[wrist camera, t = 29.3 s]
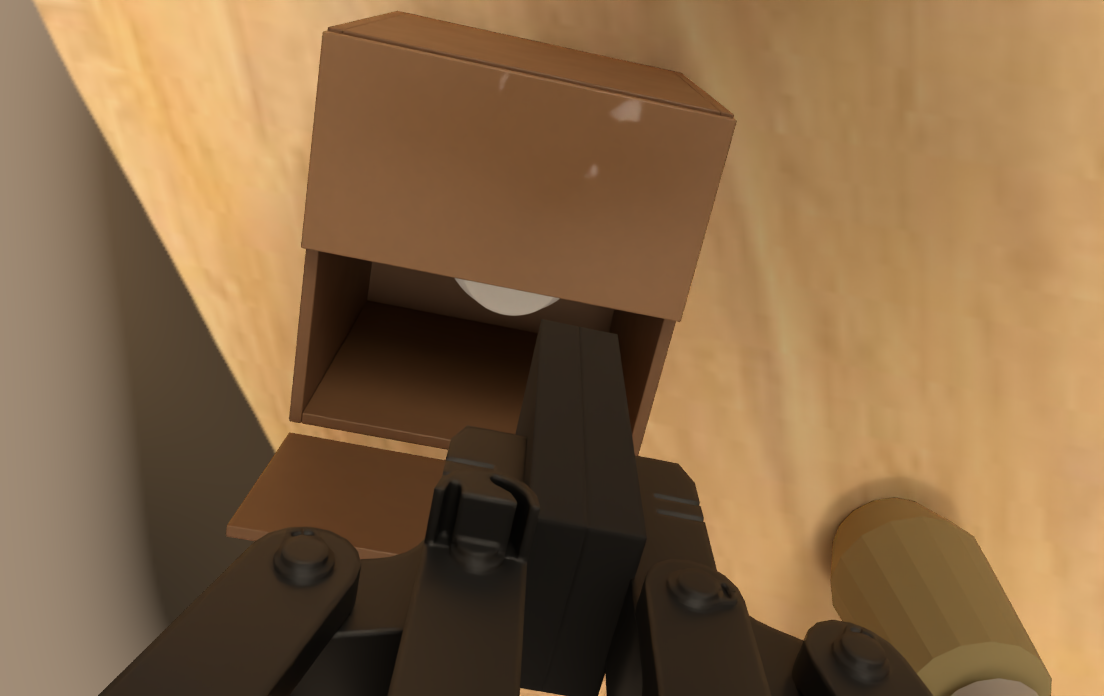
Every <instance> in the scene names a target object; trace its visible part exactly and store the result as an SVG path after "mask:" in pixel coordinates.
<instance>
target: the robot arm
mask: <svg viewBox="0 0 1104 696" xmlns="http://www.w3.org/2000/svg"><path fill="white" fill-rule="evenodd" d="M699 504H700V502H699V498H698V494H697V490H696V486H695V483H694V482H693V480H692V479H691V478H690V477H689V476H688V475H687V473H686V472H685V471H684V470H683V469H682V467H681V466H680V465H679V464H677V463H672V462H667V461H662V460H656V459H651V458H646V457H641V456H636V455H635V452H634V445H633V438H632V431H631V424H630V418H629V411H628V404H627V397H626V390H625V383H624V376H623V369H622V362H621V355H620V348H619V342H618V335H617V334H613V333H609V332H604V331H599V330H594V329H589V328H584V327H579V326H574V325H569V324H565V323H560V322H555V321H550V320H545V319H541V323H540V327H539V331H538V336H537V340H536V345H535V349H534V354H533V358H532V362H531V367H530V371H529V376H528V380H527V385H526V389H525V393H524V398H523V402H522V407H521V411H520V416H519V420H518V424H517V429H516V433H515V434H511V433H506V432H501V431H495V430H490V429H485V428H480V427H475V426H470V425H467V426H466V427H464V428H463V429H462V430H461V431H460V432H458V433H457V434H456V435H455V436H453V437H452V438H451V441H450V445H449V449H448V453H447V457H446V461H445V465H444V470H443V474H442V478H441V479H440V480H439V482H438V483H437V485H436V486H435V488H434V493H433V498H432V503H431V508H430V514H429V519H428V524H427V530H426V535H425V538H424V539H423V540H422V541H421V543H420V544H419V545H418V546H416V547H414V548H412V549H411V550H409V551H407V552H405V553H401V554H398V555H395V556H391V557H383V558H374V559H360V557H359V553H358V551H357V549H356V548H355V547H354V546H353V545H352V544H351V543H350V542H349V541H348V539H346V538H344V537H342V536H340V535H338V534H336V533H334V532H332V531H329V530H325V529H320V528H315V527H310V526H309V527H287V528H284V529H280V530H276V531H273V532H269V533H267V534H266V535H264V536H263V537H261V538H260V539H258V540H257V541H255V542H254V543H253V544H252V545H251V546H250V547H249V548H247V550H245V551H244V552H243V553H242V554H241V555H240V556H239V557H238V558H237V559H236V560H235V561H234V562H233V563H232V564H231V565H230V566H229V567H228V568H227V569H226V570H225V571H224V572H223V573H222V574H221V575H220V576H219V577H218V578H217V579H216V580H215V581H214V582H213V583H212V584H211V585H210V586H209V587H208V588H207V589H206V590H205V591H204V592H203V593H202V594H201V595H200V596H199V597H198V598H197V599H196V600H195V601H194V602H193V603H192V604H191V605H190V606H189V607H188V608H187V609H186V610H185V611H183V613H182V614H180V615H179V617H177V618H176V619H175V620H174V621H173V622H172V623H171V624H170V625H169V626H168V627H167V628H166V629H165V630H164V631H163V632H162V633H161V634H160V635H159V636H158V637H157V638H156V639H155V640H154V641H153V642H152V643H151V644H150V645H149V646H148V647H147V648H146V649H145V650H144V651H143V652H142V653H141V654H140V655H139V656H138V657H137V658H136V659H135V660H134V661H133V662H132V663H131V664H130V665H129V666H128V667H127V668H126V669H125V670H124V671H123V672H122V673H120V674H119V676H117V678H115V679H114V680H113V681H112V682H111V683H110V684H109V685H108V686H107V687H106V688H105V689H104V690H103V691H102V692H101V693H100V694H99V695H98V696H519V695H520V688H524V689H530V690H536V691H541V692H547V693H553V694H559V695H565V696H598V694H599V691H600V688H601V685H602V681H603V678H604V675H605V674H606V691H607V696H933V694H932V693H931V692H930V690H929V689H928V688H927V686H926V685H925V684H924V682H923V681H922V680H921V679H920V677H919V676H918V675H917V673H916V672H915V671H914V669H913V668H912V667H911V665H910V664H909V663H908V662H907V660H906V659H905V658H904V657H903V656H902V655H901V654H900V653H899V652H898V651H897V650H896V649H895V648H894V647H893V646H892V645H891V644H890V643H889V642H888V641H886V640H885V639H883V638H882V637H880V636H879V635H877V634H875V633H874V632H872V631H871V630H868V629H866V628H864V627H861V626H858V625H856V624H853V623H850V622H843V621H837V620H828V621H822V622H817V623H816V624H815V625H814V626H813V627H811V628H810V629H809V630H808V632H807V634H806V636H805V639H804V641H803V640H801V639H798V638H796V637H793V636H791V635H788V634H786V633H784V632H781V631H779V630H776V629H774V628H771V627H769V626H767V625H765V624H763V623H761V622H759V621H757V620H755V619H754V618H752V617H751V616H749V614H748V611H747V607H746V604H745V601H744V599H743V597H742V595H741V593H740V591H739V589H738V588H737V587H736V586H735V585H734V584H733V583H732V582H731V581H730V580H729V579H728V578H727V577H726V576H724V575H723V574H721V573H719V572H717V569H716V565H715V561H714V557H713V553H712V549H711V545H710V541H709V537H708V533H707V529H706V525H705V522H703V519H704V517H703V513H702V510H701V506H699Z"/></svg>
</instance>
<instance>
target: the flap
mask: <svg viewBox="0 0 1104 696" xmlns="http://www.w3.org/2000/svg"><path fill="white" fill-rule="evenodd" d="M736 122H737V121H736V120H735V119H734V118H729V117H725V116H720V115H715V114H711V113H706V112H702V111H697V110H692V109H688V108H683V107H678V106H674V105H669V104H664V103H660V102H655V101H650V100H646V99H641V98H636V97H632V96H627V95H623V94H618V93H613V92H609V91H604V90H599V89H595V88H590V87H585V86H581V85H576V84H571V83H567V82H562V81H557V80H553V79H548V78H544V77H539V76H534V75H530V74H525V73H520V72H516V71H511V70H506V69H502V68H497V67H492V66H488V65H483V64H478V63H474V62H469V61H465V60H460V59H455V58H451V57H446V56H441V55H437V54H432V53H427V52H423V51H418V50H413V49H409V48H404V47H399V46H395V45H390V44H386V43H381V42H376V41H372V40H367V39H362V38H358V37H353V36H348V35H344V34H339V33H334V32H330V31H324V32H323V36H322V46H321V55H320V65H319V75H318V85H317V95H316V105H315V115H314V125H313V135H312V144H311V154H310V164H309V174H308V184H307V194H306V204H305V214H304V224H303V234H302V243H301V247H302V248H305V249H310V250H315V251H320V252H326V253H331V254H336V255H341V256H346V257H351V258H356V259H361V260H366V261H371V262H377V263H382V264H387V265H392V266H397V267H402V268H407V269H412V270H417V271H422V272H428V273H433V274H438V275H443V276H448V277H453V278H458V279H463V280H468V281H473V282H479V283H484V284H489V285H494V286H499V287H504V288H509V289H514V290H519V291H524V292H530V293H535V294H540V295H545V296H550V297H555V298H560V299H565V300H570V301H576V302H581V303H586V304H591V305H596V306H601V307H606V308H611V309H616V310H621V311H627V312H632V313H637V314H642V315H647V316H652V317H657V318H662V319H667V320H672V321H678V322H680V321H681V319H682V315H683V311H684V308H685V304H686V301H687V297H688V294H689V290H690V286H691V283H692V279H693V276H694V272H695V268H696V265H697V261H698V258H699V254H700V251H701V247H702V243H703V240H704V236H705V233H706V229H707V226H708V222H709V218H710V215H711V211H712V208H713V204H714V201H715V197H716V193H717V190H718V186H719V183H720V179H721V175H722V172H723V168H724V165H725V161H726V158H727V154H728V150H729V147H730V143H731V140H732V136H733V133H734V129H735V125H736Z"/></svg>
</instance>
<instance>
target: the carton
mask: <svg viewBox="0 0 1104 696" xmlns="http://www.w3.org/2000/svg"><path fill="white" fill-rule="evenodd" d="M328 31H330V32H334V33H339V34H344V35H348V36H353V37H358V38H362V39H367V40H372V41H376V42H381V43H386V44H390V45H395V46H399V47H404V48H409V49H413V50H418V51H423V52H427V53H432V54H437V55H441V56H446V57H451V58H455V59H460V60H465V61H469V62H474V63H478V64H483V65H488V66H492V67H497V68H502V69H506V70H511V71H516V72H520V73H525V74H530V75H534V76H539V77H544V78H548V79H553V80H557V81H562V82H567V83H571V84H576V85H581V86H585V87H590V88H595V89H599V90H604V91H609V92H613V93H618V94H623V95H627V96H632V97H636V98H641V99H646V100H650V101H655V102H660V103H664V104H669V105H674V106H678V107H683V108H688V109H692V110H697V111H702V112H706V113H711V114H715V115H720V116H725V117H729V118H733V117H734V114H732V113H731V112H730V111H729V110H727V109H726V108H725V107H724V106H722V105H721V104H720V103H719V102H717V101H716V100H715V99H713V98H712V97H711V96H710V95H708V94H707V93H706V92H705V91H703V90H702V89H701V88H700V87H698V86H697V85H696V84H695V83H693V82H692V81H691V80H690V79H688V78H687V77H686V76H685V75H683V74H682V73H679V72H674V71H670V70H665V69H661V68H656V67H651V66H647V65H642V64H638V63H633V62H629V61H624V60H619V59H615V58H610V57H606V56H601V55H596V54H592V53H587V52H583V51H578V50H574V49H569V48H564V47H560V46H555V45H551V44H546V43H541V42H537V41H532V40H528V39H523V38H519V37H514V36H509V35H505V34H500V33H496V32H491V31H486V30H482V29H477V28H473V27H468V26H464V25H459V24H454V23H450V22H445V21H441V20H436V19H432V18H427V17H422V16H418V15H413V14H409V13H404V12H399V11H395V12H391V13H387V14H383V15H378V16H374V17H370V18H366V19H361V20H357V21H353V22H349V23H344V24H340V25H336V26H332V27H328ZM541 319H545V320H550V321H555V322H560V323H565V324H569V325H574V326H579V327H584V328H589V329H594V330H599V331H604V332H609V333H613V334H617V335H618V342H619V348H620V355H621V362H622V369H623V376H624V383H625V390H626V397H627V404H628V411H629V418H630V424H631V431H632V438H633V445H634V452H635V455H636V456H638V454H639V451H640V447H641V444H642V440H643V436H644V433H645V429H646V426H647V422H648V419H649V415H650V412H651V408H652V404H653V401H654V397H655V394H656V390H657V387H658V383H659V380H660V376H661V373H662V369H663V365H664V362H665V358H666V355H667V351H668V348H669V344H670V341H671V337H672V334H673V330H674V326H675V323H676V321H672V320H667V319H662V318H657V317H652V316H647V315H642V314H637V313H632V312H627V311H621V310H616V309H611V308H606V307H601V306H596V305H591V304H586V303H581V302H576V301H570V300H565V299H559V300H557V301H556V302H554V303H553V304H551V305H549V306H547V307H545V308H542V309H540V310H538V311H535V312H533V313H530V314H525V315H518V316H512V315H503V314H499V313H496V312H493V311H491V310H489V309H487V308H485V307H484V306H482V305H481V304H480V303H478V302H477V301H476V300H475V299H473V298H472V297H471V296H469V295H468V294H467V293H466V292H465V291H464V290H463V289H462V288H461V286H460V285H459V284H458V283H457V281H456V280H455V278H453V277H448V276H443V275H438V274H433V273H428V272H422V271H417V270H412V269H407V268H402V267H397V266H392V265H387V264H382V263H377V262H371V261H366V260H361V259H356V258H351V257H346V256H341V255H336V254H331V253H326V252H320V251H315V250H310V249H306V255H305V265H304V275H303V285H302V295H301V305H300V315H299V326H298V336H297V346H296V356H295V366H294V376H293V386H292V396H291V406H290V417H289V421H292V422H298V423H301V422H302V423H303V424H309V425H315V426H320V427H326V428H331V429H337V430H342V431H348V432H353V433H359V434H364V435H370V436H375V437H381V438H386V439H392V440H397V441H403V442H408V443H414V444H420V445H425V446H431V447H436V448H442V449H447V450H448V449H449V445H450V441H451V438H452V437H453V436H455V435H456V434H457V433H458V432H460V431H461V430H462V429H463V428H464V427H466V426H467V425H470V426H475V427H480V428H485V429H490V430H495V431H501V432H506V433H511V434H515V433H516V429H517V424H518V420H519V416H520V411H521V407H522V402H523V398H524V393H525V389H526V385H527V380H528V376H529V371H530V367H531V362H532V358H533V354H534V349H535V345H536V340H537V336H538V331H539V327H540V323H541ZM444 465H445V460H440V459H434V458H428V457H423V456H417V455H412V454H406V453H401V452H395V451H390V450H384V449H378V448H373V447H367V446H362V445H356V444H351V443H345V442H340V441H334V440H328V439H323V438H317V437H312V436H306V435H301V434H295V433H289V434H288V435H287V437H286V438H285V440H284V441H283V443H282V444H281V446H280V447H279V449H278V450H277V452H276V453H275V455H274V456H273V458H272V459H271V461H270V462H269V464H268V465H267V467H266V468H265V470H264V471H263V472H262V474H261V476H260V477H259V478H258V480H257V481H256V483H255V484H254V486H253V487H252V489H251V490H250V492H249V493H248V495H247V496H246V498H245V499H244V501H243V502H242V504H241V505H240V507H239V508H238V510H237V511H236V513H235V514H234V516H233V517H232V519H231V520H230V522H229V523H228V525H227V528H226V536H227V537H233V538H239V539H245V540H250V541H257V540H258V539H260V538H261V537H263V536H264V535H266V534H267V533H269V532H273V531H276V530H280V529H284V528H287V527H309V526H310V527H315V528H320V529H325V530H329V531H332V532H334V533H336V534H338V535H340V536H342V537H344V538H346V539H348V541H349V542H350V543H351V544H352V545H353V546H354V547H355V548H356V549H357V551H358V553H359V557H360V559H374V558H383V557H391V556H395V555H398V554H401V553H405V552H407V551H409V550H411V549H412V548H414V547H416V546H418V545H419V544H420V543H421V541H422V540H423V539H424V538H425V535H426V530H427V524H428V519H429V514H430V508H431V503H432V498H433V493H434V488H435V486H436V485H437V483H438V482H439V480H440V479H441V478H442V474H443V470H444Z"/></svg>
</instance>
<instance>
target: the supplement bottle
mask: <svg viewBox="0 0 1104 696" xmlns="http://www.w3.org/2000/svg"><path fill="white" fill-rule="evenodd" d="M455 280H456V281H457V283H458V284H459V285H460V286H461V288H462V289H463V290H464V291H465V292H466V293H467V294H468V295H469V296H471V297H472V298H473V299H475V300H476V301H477V302H478V303H480V304H481V305H482V306H484V307H485V308H487V309H489V310H491V311H493V312H496V313H499V314H503V315H512V316H518V315H525V314H530V313H533V312H535V311H538V310H540V309H542V308H545V307H547V306H549V305H551V304H553V303H554V302H556V301H557V300H559V299H560V298H555V297H550V296H545V295H540V294H535V293H530V292H524V291H519V290H514V289H509V288H504V287H499V286H494V285H489V284H484V283H479V282H473V281H468V280H463V279H458V278H455Z"/></svg>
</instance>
